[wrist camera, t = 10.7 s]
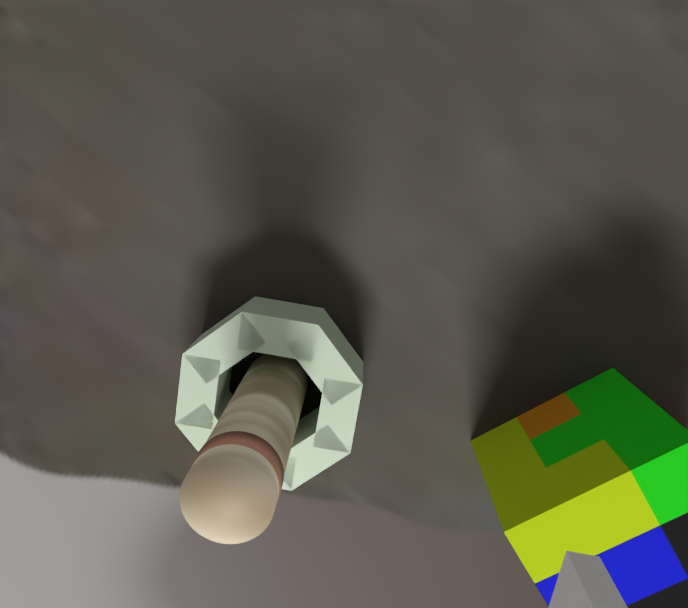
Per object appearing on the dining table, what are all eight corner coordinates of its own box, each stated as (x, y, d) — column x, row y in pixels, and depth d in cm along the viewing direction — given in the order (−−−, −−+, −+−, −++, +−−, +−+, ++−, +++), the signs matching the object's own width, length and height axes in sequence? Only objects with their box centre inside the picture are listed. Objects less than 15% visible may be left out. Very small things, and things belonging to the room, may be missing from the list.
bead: (206, 288, 37) (188, 302, 33) (371, 316, 37) (372, 334, 33) (189, 439, 40) (169, 469, 36) (344, 466, 40) (341, 499, 36)
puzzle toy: (540, 558, 41) (593, 681, 31) (470, 440, 39) (503, 532, 29) (678, 492, 39) (780, 600, 30) (612, 367, 38) (697, 438, 28)
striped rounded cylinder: (249, 346, 38) (183, 448, 25) (313, 357, 38) (282, 465, 25) (241, 406, 39) (173, 536, 25) (303, 416, 39) (268, 552, 25)
